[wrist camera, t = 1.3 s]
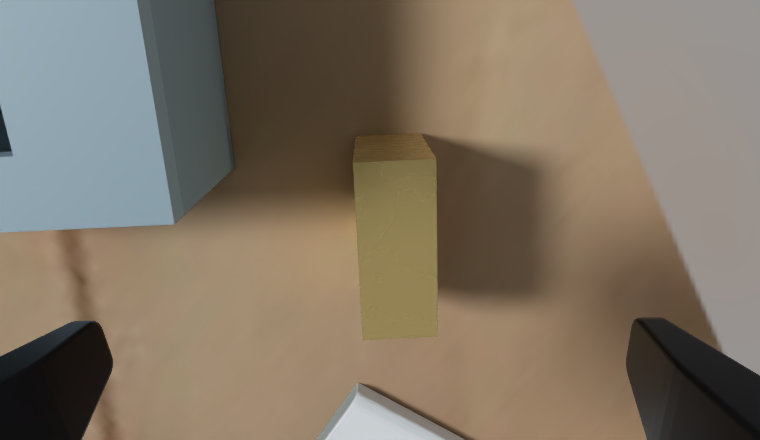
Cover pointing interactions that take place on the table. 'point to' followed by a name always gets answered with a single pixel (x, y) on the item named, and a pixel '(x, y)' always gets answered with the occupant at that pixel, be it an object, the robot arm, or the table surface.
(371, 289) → the yellow rectangular block
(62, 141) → the tissue box
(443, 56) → the table surface
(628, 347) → the robot arm
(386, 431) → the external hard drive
